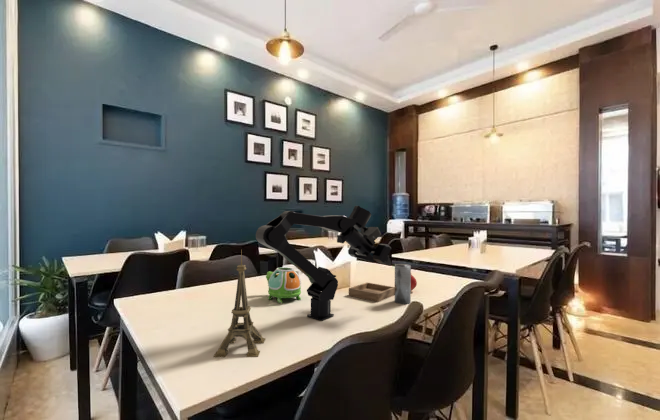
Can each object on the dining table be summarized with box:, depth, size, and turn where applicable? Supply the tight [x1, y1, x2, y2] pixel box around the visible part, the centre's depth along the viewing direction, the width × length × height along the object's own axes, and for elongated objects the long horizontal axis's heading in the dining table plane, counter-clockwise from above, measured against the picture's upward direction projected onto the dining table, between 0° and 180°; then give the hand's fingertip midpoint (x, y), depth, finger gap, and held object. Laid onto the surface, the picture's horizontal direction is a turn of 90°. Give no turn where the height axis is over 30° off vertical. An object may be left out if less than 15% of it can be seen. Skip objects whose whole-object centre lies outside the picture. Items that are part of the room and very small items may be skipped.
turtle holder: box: [265, 266, 302, 304], centre depth 129 cm, size 12×18×12 cm
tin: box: [394, 263, 412, 305], centre depth 124 cm, size 6×6×14 cm
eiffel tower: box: [212, 249, 266, 358], centre depth 82 cm, size 11×11×25 cm
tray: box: [348, 282, 395, 303], centre depth 133 cm, size 14×14×3 cm
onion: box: [411, 274, 418, 292], centre depth 140 cm, size 6×6×8 cm
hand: (382, 262), depth 121 cm, fingers open, 9 cm apart
